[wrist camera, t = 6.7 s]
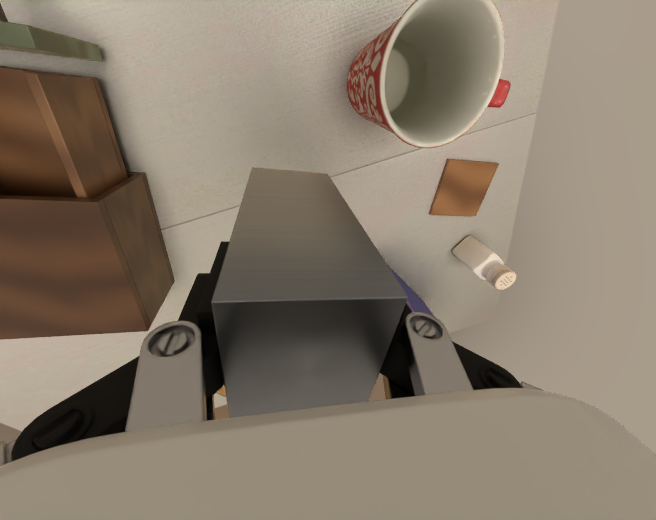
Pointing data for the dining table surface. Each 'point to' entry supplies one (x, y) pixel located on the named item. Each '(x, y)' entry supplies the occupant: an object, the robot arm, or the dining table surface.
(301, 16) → the dining table surface
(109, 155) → the drawer
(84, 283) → the cabinet
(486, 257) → the pepper shaker
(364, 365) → the metal block
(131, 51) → the dining table surface
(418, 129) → the mug
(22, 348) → the dining table surface
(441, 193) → the plate
